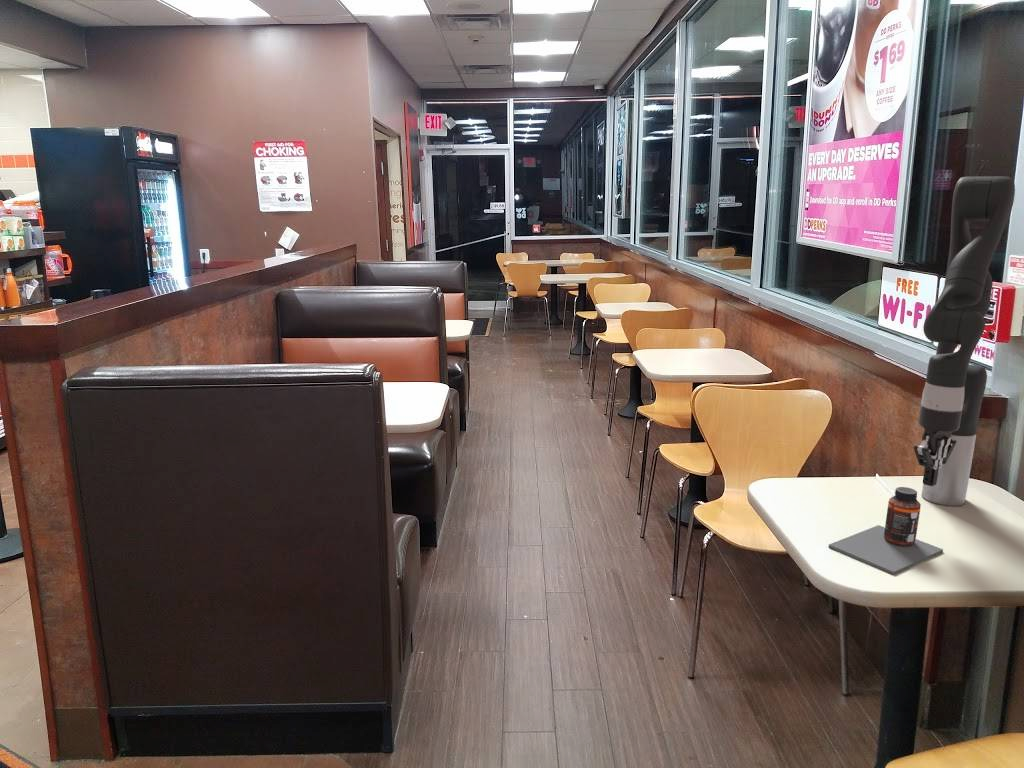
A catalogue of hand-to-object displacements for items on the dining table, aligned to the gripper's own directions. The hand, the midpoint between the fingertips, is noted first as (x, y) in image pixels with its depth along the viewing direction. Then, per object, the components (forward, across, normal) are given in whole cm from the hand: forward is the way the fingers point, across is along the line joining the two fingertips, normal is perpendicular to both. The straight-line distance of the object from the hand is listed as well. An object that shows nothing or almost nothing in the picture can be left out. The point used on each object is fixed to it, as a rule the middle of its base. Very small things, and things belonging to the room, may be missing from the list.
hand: (929, 484), depth 161 cm
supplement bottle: (+11, -8, 0) cm, 14 cm away
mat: (+12, -14, 0) cm, 18 cm away
